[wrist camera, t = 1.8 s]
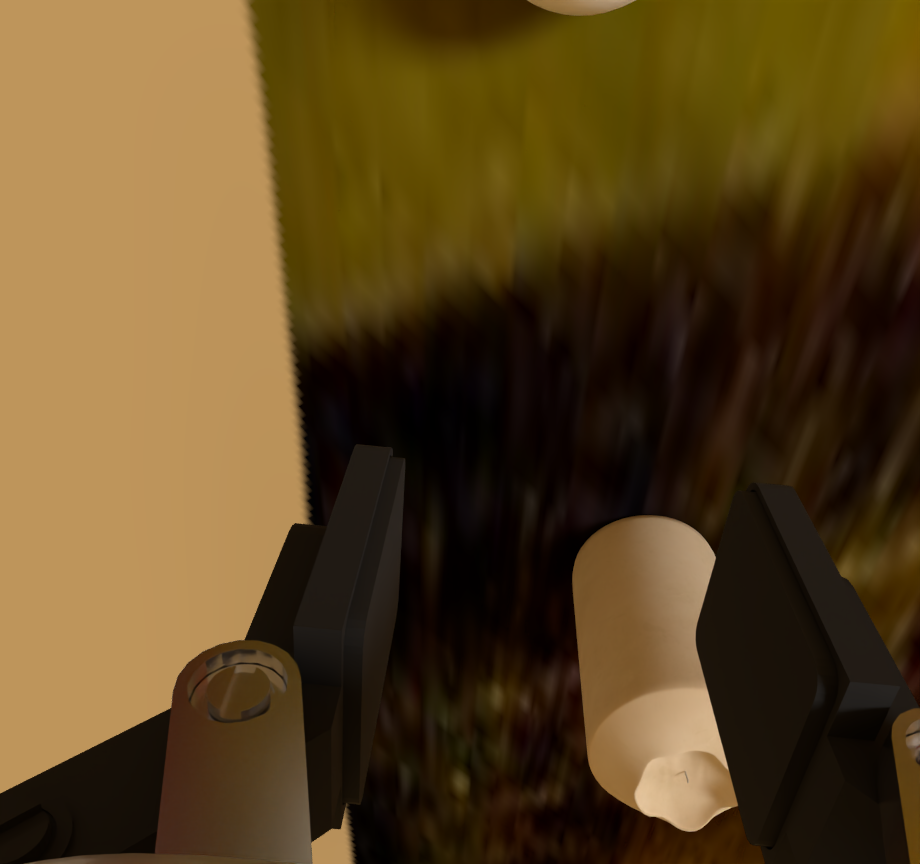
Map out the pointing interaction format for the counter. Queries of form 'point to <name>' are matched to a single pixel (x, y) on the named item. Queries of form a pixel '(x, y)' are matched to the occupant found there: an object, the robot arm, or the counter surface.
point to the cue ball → (580, 6)
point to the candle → (649, 670)
